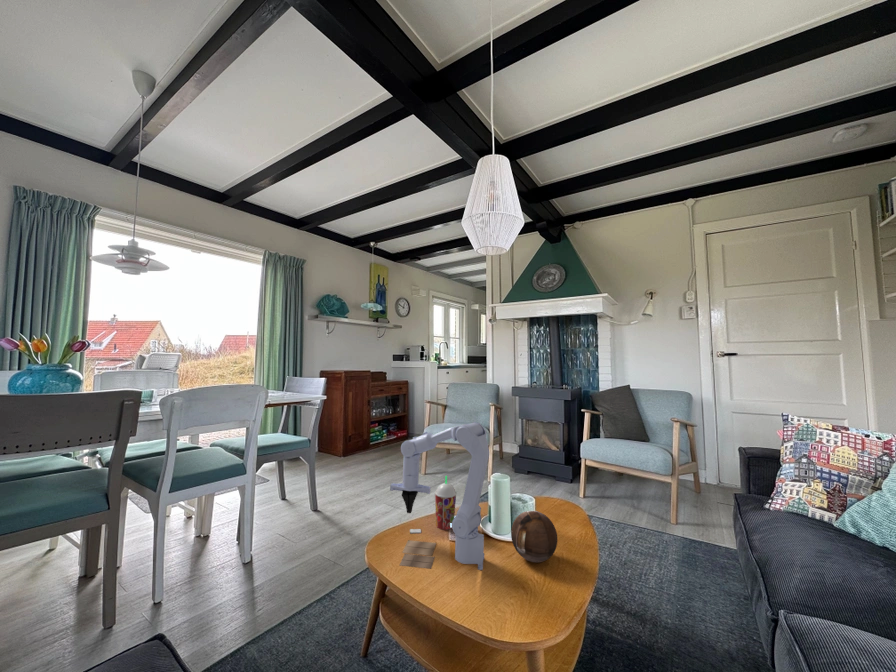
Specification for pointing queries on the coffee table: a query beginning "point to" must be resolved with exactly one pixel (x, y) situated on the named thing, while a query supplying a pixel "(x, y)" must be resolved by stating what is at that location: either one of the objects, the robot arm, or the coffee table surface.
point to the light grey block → (415, 530)
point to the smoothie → (445, 505)
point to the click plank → (419, 548)
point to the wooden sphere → (534, 536)
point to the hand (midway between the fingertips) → (409, 512)
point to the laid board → (417, 561)
